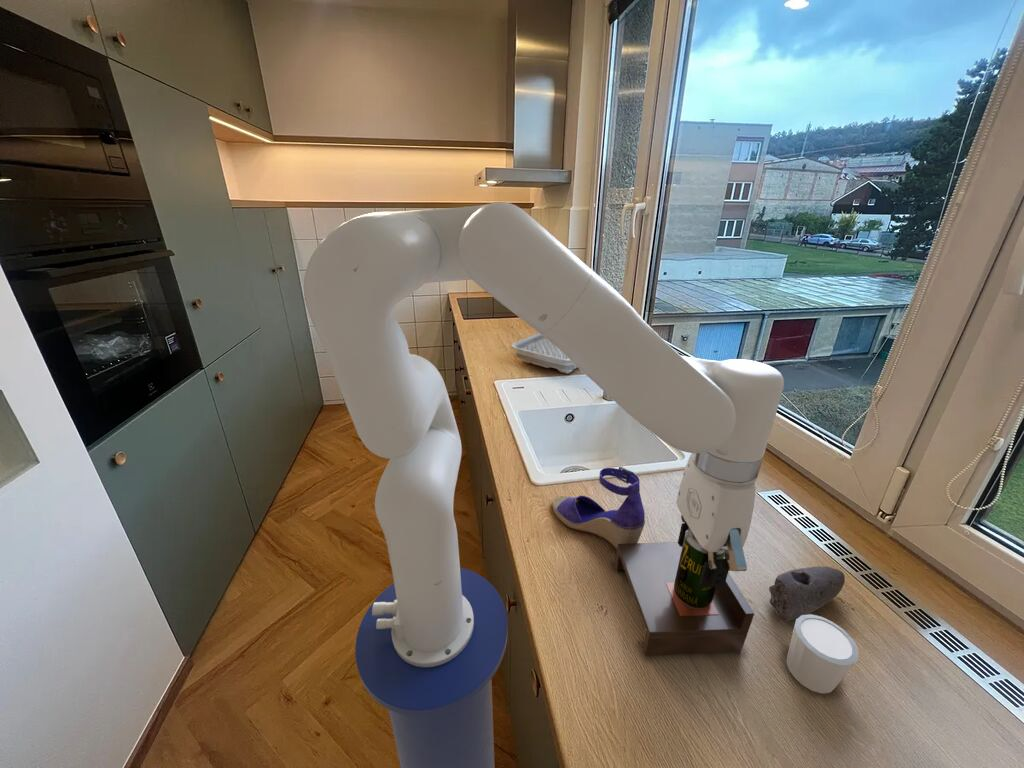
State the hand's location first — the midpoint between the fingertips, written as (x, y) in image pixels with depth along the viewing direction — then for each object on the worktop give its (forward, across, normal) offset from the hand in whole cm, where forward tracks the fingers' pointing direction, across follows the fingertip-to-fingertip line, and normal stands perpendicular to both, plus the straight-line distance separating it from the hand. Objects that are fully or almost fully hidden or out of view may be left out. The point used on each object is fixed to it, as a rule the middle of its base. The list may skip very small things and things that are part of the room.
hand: (699, 563), depth 58 cm
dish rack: (+12, -116, -1) cm, 117 cm away
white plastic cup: (+12, +8, +14) cm, 20 cm away
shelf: (+12, -3, -1) cm, 13 cm away
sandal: (+12, -20, -10) cm, 26 cm away
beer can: (+7, 0, 0) cm, 7 cm away
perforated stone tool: (+12, -2, +20) cm, 24 cm away
